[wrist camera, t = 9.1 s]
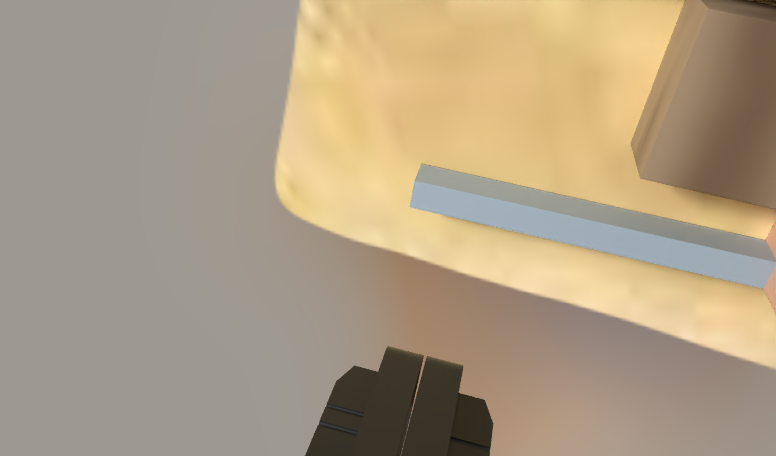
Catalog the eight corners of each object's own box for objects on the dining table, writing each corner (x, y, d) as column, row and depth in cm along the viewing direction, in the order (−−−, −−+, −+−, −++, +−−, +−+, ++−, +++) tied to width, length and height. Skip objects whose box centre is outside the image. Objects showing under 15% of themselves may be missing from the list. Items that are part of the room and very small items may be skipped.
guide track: (967, -23, 25) (1053, 4, 20) (794, 275, 32) (831, 340, 28) (472, -110, 27) (457, -102, 22) (416, 189, 34) (397, 237, 30)
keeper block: (839, 17, 26) (881, 43, 23) (760, 170, 30) (787, 211, 27) (688, -12, 27) (708, 8, 24) (630, 141, 31) (640, 178, 27)
